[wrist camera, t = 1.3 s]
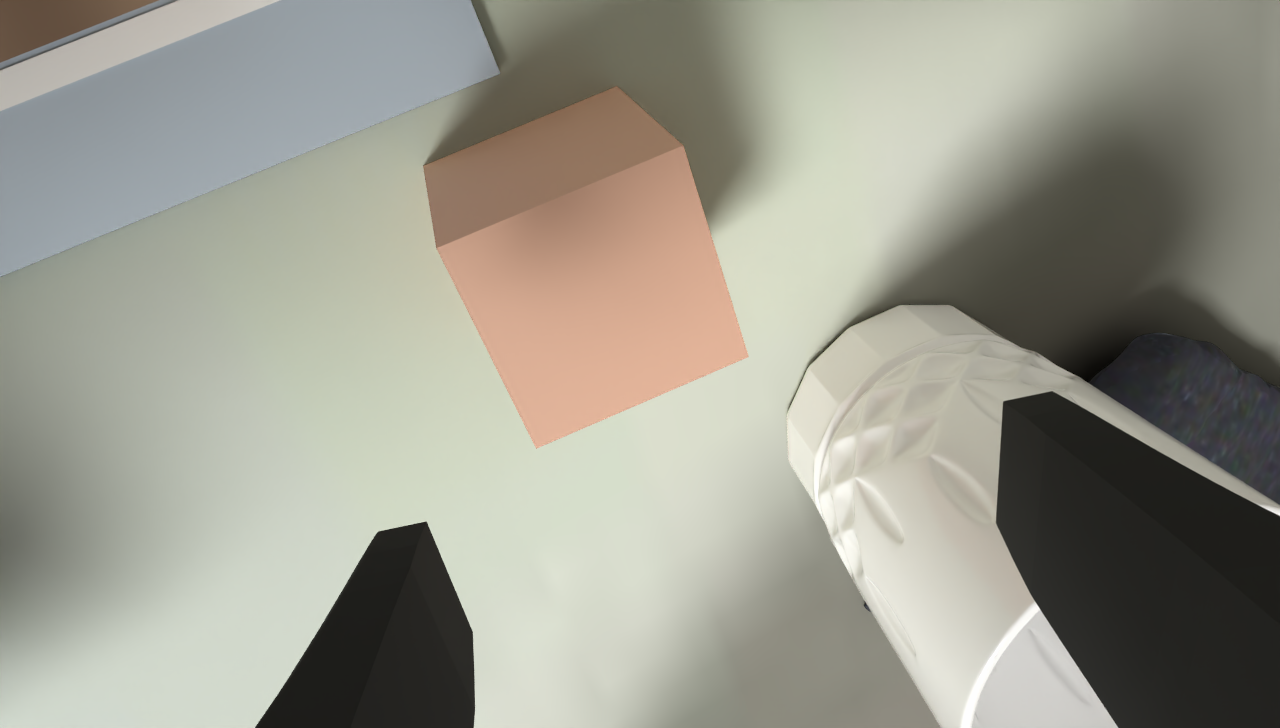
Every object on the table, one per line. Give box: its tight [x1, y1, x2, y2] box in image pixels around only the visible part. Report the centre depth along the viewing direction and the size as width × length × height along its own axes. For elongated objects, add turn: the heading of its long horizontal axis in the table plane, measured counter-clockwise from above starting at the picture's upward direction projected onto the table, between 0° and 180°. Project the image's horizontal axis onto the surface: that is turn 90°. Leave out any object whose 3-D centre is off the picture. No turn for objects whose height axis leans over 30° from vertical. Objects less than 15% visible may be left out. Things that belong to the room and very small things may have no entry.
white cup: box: [787, 305, 1280, 728], centre depth 21 cm, size 8×8×10 cm
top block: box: [423, 86, 749, 448], centre depth 18 cm, size 4×4×5 cm
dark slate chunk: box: [864, 333, 1280, 612], centre depth 31 cm, size 15×22×5 cm
